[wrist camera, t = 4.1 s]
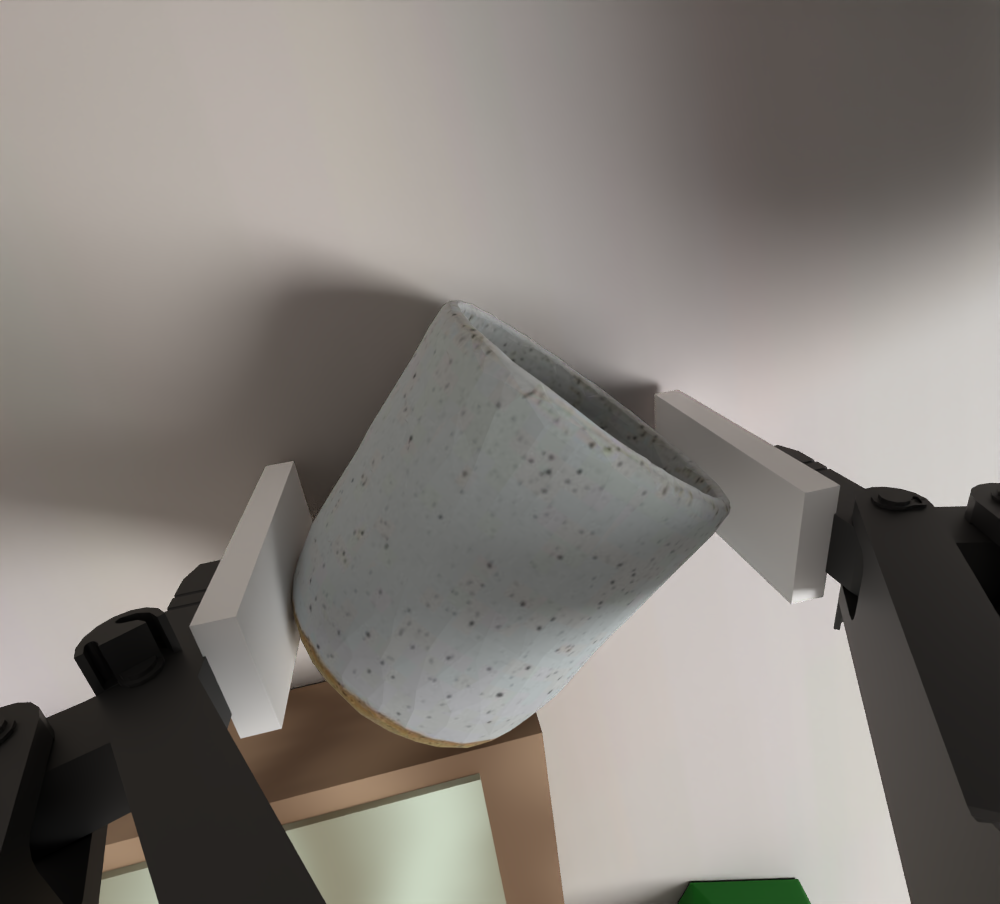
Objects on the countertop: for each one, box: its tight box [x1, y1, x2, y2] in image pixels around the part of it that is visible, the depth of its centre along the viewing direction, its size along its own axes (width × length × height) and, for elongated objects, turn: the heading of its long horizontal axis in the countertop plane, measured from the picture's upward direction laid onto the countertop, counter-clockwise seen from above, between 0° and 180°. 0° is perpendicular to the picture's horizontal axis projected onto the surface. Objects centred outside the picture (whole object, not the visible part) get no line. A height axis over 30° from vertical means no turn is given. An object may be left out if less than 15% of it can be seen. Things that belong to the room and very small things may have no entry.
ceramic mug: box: [292, 301, 731, 748], centre depth 14 cm, size 11×8×8 cm
